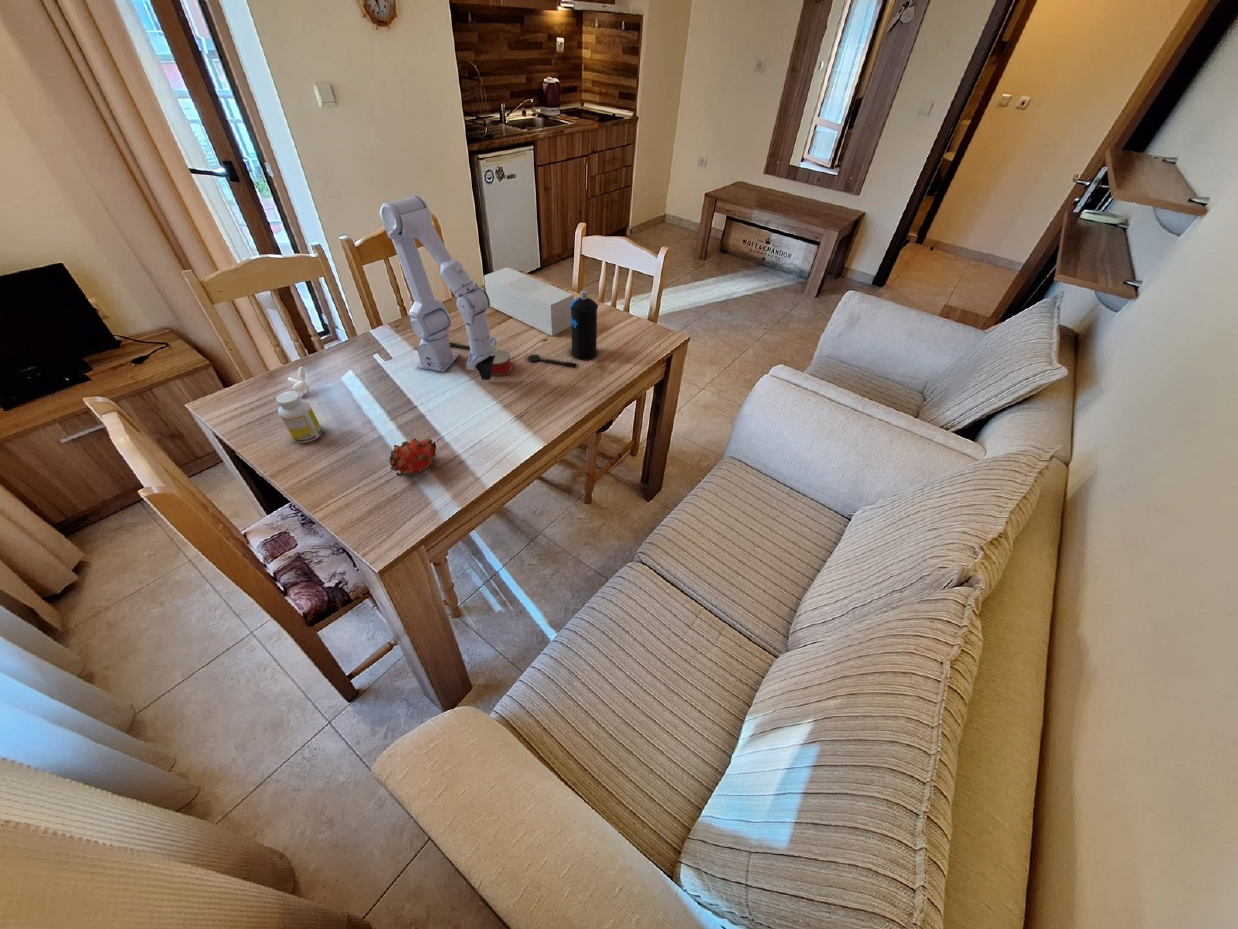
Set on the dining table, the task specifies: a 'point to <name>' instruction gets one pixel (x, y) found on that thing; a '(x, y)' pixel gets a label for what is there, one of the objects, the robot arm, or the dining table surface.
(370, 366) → the dining table surface
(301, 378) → the rabbit figurine
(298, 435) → the pill bottle
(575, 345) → the aerosol can
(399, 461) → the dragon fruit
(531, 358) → the spoon
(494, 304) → the long white block
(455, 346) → the fork
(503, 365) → the tin can
